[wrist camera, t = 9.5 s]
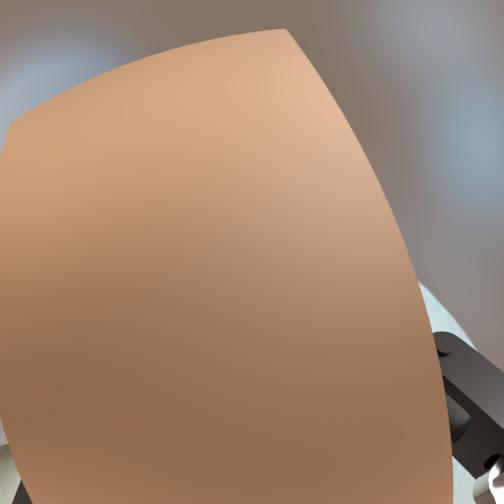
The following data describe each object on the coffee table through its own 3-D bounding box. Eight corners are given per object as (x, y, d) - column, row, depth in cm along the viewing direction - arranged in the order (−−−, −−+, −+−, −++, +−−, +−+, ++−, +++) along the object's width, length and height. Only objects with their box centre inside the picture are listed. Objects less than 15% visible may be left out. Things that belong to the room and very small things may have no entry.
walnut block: (307, 411, 18) (438, 603, 1) (236, 429, 18) (148, 644, 1) (270, 276, 21) (285, 28, 4) (201, 293, 21) (10, 123, 4)
